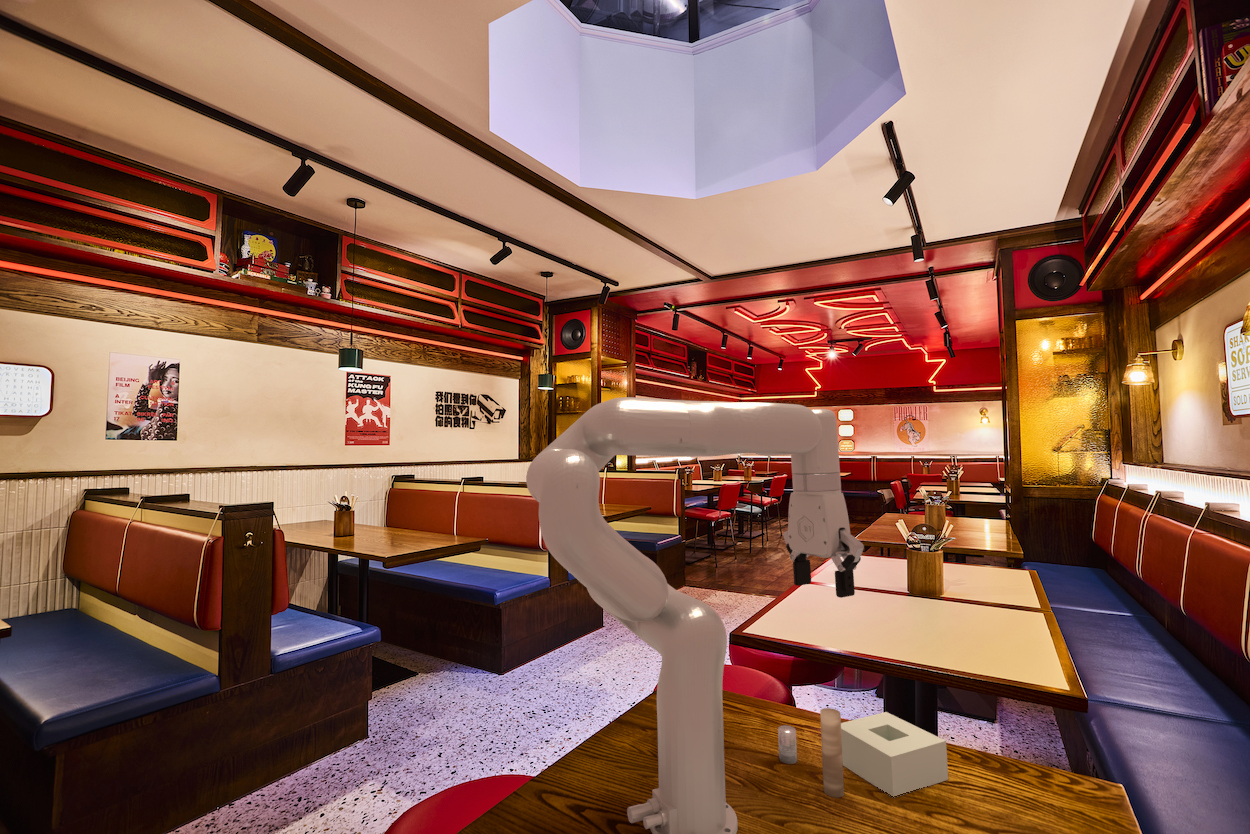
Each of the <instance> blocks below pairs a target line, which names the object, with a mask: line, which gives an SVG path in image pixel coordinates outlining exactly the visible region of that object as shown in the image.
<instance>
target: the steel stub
mask: <svg viewBox="0 0 1250 834" xmlns="http://www.w3.org/2000/svg"><path fill="white" fill-rule="evenodd" d="M777 736H778V737H777V738H778V760H780V762H782V763H784V764H788V765H792V764H796V763H797V762H798V755H797V754H798V753H797V752H798V751H797V750H798V749H797V729H796V728H795V727H794V726H792V725H791V726H790V725H786V724H784V725H779V726H778V727H777Z"/></svg>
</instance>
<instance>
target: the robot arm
mask: <svg viewBox="0 0 1250 834" xmlns="http://www.w3.org/2000/svg"><path fill="white" fill-rule="evenodd" d="M839 453H840V452H839V438H838V424H837V416H836V413H835V412H834V411H833V410H831V409H827V408H813V409H810V408H809V407H808V406H805V405H802V404H796V403H795V404H794V403H777V402H758V401H757V402H753V401H752V402H749V401H747V402H746V401H745V402H743V401H742V402H741V401H740V402H739V401H738V402H737V401H736V402H734V401H721V400H719V401H717V400H713V401H711V400H685V399H684V400H683V399H668V398H667V399H666V398H664V399H663V398H651V397H649V398H647V397H636V396H635V397H633V396H632V397H631V396H628V397H627V396H626V397H614V398H612V399H609V400H605V401H602V402H599V403H597V404H595V405H593V406H592V407H591V408H588V410H587V411H585V412H584V413H582V415H581V416H580V417H579V418H578V419H577V420H575V422H574V423H572V424H571V425H570V426H568V428H566V430H565V431H563V432H562V433H561V434H560V435H559V436H557V438H555V439H554V440H553V441H552V442H551V443H549V445H547V446H546V447H545V448H544V449H543V450H541V452H539V453H538V454H537V455H536V457H534V458H533V460H532V461H531V463H530V464H529V466H528V468H527V471H526V477H525V479H526V482H525V483H526V487H527V489H528V492H529V494H530V496H531V497H532V498H533V499H534V500H535V501H536V502H538V521H539V529H540V533H541V536H542V539H543V542H544V545H545V548H546V549H547V550H548V552H549V553H550V554H551V556H552V557H553V558H554V559H555V560H556V561H557V562H558V564H559V565H561V567H563V569H565V570H566V571H567V572H568V573H569V574H571V575H572V576H573V577H574V578H575V579H577V581H578V582H579V583H580V584H581V585H583V586H584V587H585V588H586V589H587V592H588V594H589V596H590V597H591V598H592V600H593V602H595V603H596V604H597V605H598V606H599V607H601V608H602V609H603V610H604V611H606V612H607V613H608V614H609V615H610V616H612V617H613V618H614V619H615V620H617V622H619V623H620V624H622V625H623V626H624V627H625V628H626V629H628V630H629V631H630V632H631V633H633V634H634V635H635V636H636V637H637V638H639V639H640V640H641V641H642V642H643V643H645V644H647V645H648V646H649V647H650V648H652V649H653V650H655V651H656V652H657V653H658V654H659V655H660V656H661V665H660V672H659V674H658V675H659V676H658V680H657V688H656V713H657V715H656V721H657V759H658V762H657V766H658V770H657V771H658V787H657V788H654V789H652V791H651V792H652V795H651V797H652V798H648V799H647V800H646V802H645V803H638V804H635V805H631V806H628V807H627V808H626V813H627V814H626V815H627V819H628V822H629V823H631V824H634V823H637V822H642V823H643V827H644V829H645V830H648V829H649V830H650V832H651V833H652V834H737V832H738V827H739V825H738V817H737V814H736V811H735V810H734V809H733V807H732V806H731V805H730V804H729V803H727V801H726V799H727V798H726V772H725V769H726V767H725V744H724V743H725V742H724V741H725V739H724V738H725V737H724V736H725V735H724V710H723V709H724V707H723V703H724V702H723V682H724V681H723V679H724V678H723V676H724V668H725V662H726V661H725V660H726V654H727V649H728V648H727V646H728V639H727V638H728V637H727V636H728V635H727V630H726V626H725V624H724V622H723V619H722V618H721V616H720V615H719V614H718V612H716V610H715V609H714V608H713V607H712V606H710V605H709V604H708V603H705V602H704V601H702V600H700V599H698V598H695V597H694V596H691V595H689V594H686V593H684V592H681V591H680V590H677V589H676V588H674V587H673V586H671V585H670V584H669V583H668V581H667V579H666V577H665V574H664V573H663V571H662V569H661V568H660V566H659V565H657V563H655V562H654V561H653V560H652V559H650V558H649V557H648V556H646V555H645V554H643V553H642V552H641V551H640V550H638V549H637V548H636V547H635V546H634V545H632V544H631V543H630V542H629V541H628V540H626V539H625V538H624V537H623V536H622V535H621V534H619V532H617V530H615V529H614V528H613V527H612V526H611V525H610V524H609V523H608V522H607V521H606V520H605V518H604V516H603V515H602V512H601V510H600V509H601V508H600V498H599V497H600V489H601V475H600V471H601V470H602V469H603V468H604V467H606V465H607V464H608V463H609V462H610V461H611V460H612V459H613V458H615V456H639V457H640V456H641V457H642V456H643V457H644V456H648V457H649V456H650V457H651V456H654V457H690V458H691V457H692V458H695V457H696V458H697V457H699V458H701V457H705V458H706V457H719V456H727V455H728V456H729V455H738V454H739V455H740V454H756V455H758V456H759V455H760V456H767V457H768V456H770V457H771V456H785V455H786V456H787V455H789V456H790V460H791V463H790V464H791V475H792V477H791V478H792V490H793V492H791V493H790V496H789V503H788V512H787V513H788V515H787V516H788V521H787V525H788V526H787V530H785V531H784V532H782V536H783V540H784V543H785V544H786V546H785V547H786V550H787V551H788V553H789V558H790V561H792V569H793V571H792V572H793V584H794V585H795V586H798V587H799V586H805V585H810V584H811V583H812V572H811V561H810V559H808V557H809V556H813V557H818V558H824V559H825V558H830V559H831V560H832V562H833V564H834V566H835V567H836V568H837V570H834V580H835V596H836V597H837V598H841V599H842V598H846V597H853V596H855V593H856V592H855V577H854V570H856V569H857V565H858V564H859V563H860V562H861V561H862V560H861V557H862V554H863V551H864V547H865V545H864V544H863V542H861V541H860V540H859V539H858V538H856V537H855V536H854V535H852V534H851V529H850V519H849V515H848V514H849V513H848V508H847V503H846V499H845V496H844V492H842V482H841V468H840V466H841V465H840V454H839ZM841 558H842V559H843V560H842V559H841Z"/></svg>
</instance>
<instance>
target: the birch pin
mask: <svg viewBox="0 0 1250 834" xmlns="http://www.w3.org/2000/svg"><path fill="white" fill-rule="evenodd" d="M819 713H820V714H819V715H820V735H821V736H820V737H821V739H820V740H821V754H822V755H821V761H822V779H823V780H822V781H823V782H822V783H823V792H824V794H825V795H826V796H827V797H831V798H842V797H844V796H845V784H844V783H845V782H844V780H845V779H844V766H843V758H842V737H841V723H842V719H841V711H839V710H838V709H835V708H831V707H826V708H824V707H823V708H821V709H820V711H819Z"/></svg>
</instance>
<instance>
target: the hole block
mask: <svg viewBox="0 0 1250 834" xmlns="http://www.w3.org/2000/svg"><path fill="white" fill-rule="evenodd" d="M841 737H842V758H843V767H845V768H846V769H848V770H849V771H851V772H853V773H854V774H856V775H858V776H859V777H860V778H862V779H863V780H864V781H866V782H868V783H869V784H871V785H873V786H874V787H875V788H877V787H878V788H877V789H878V790H880V789H881V790H880V791H882V790H883V791H884V793H885V792H887V793H888V794H890V795H891V796H893V797H894V796H897V795H900V794H903V793H906V792H909V793H911V792H910V791H913V790H916V789H919V788H920V789H919V790H922V789H924V788H923V787H925V788H927V786H928V787H930V786H933V785H936V784H939V783H943V782H945V781H949V768H948V751H947V750H948V749H947V741H946V739H943V738H941V737H939V736H937V735H935V734H933V733H931V732H929V731H926V730H925V729H922V728H920V727H919V726H916V725H914V724H912V723H910V722H908V721H906V720H904V719H902V718H899V716H896V715H894V714H891V713H889V712H888V711H885V712H884V711H883V712H881V713H876V714H873V715H868V716H865V717H860V718H856V719H853V720H848V721H844V722H841ZM921 788H922V789H921ZM883 791H882V792H883ZM916 791H917V790H916ZM913 792H914V791H913ZM888 794H887V795H888ZM906 794H907V793H906ZM890 795H889V796H890ZM903 795H904V794H903ZM891 796H890V797H891ZM900 796H901V795H900ZM893 797H892V798H893ZM897 797H898V796H897ZM894 798H895V797H894Z"/></svg>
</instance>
